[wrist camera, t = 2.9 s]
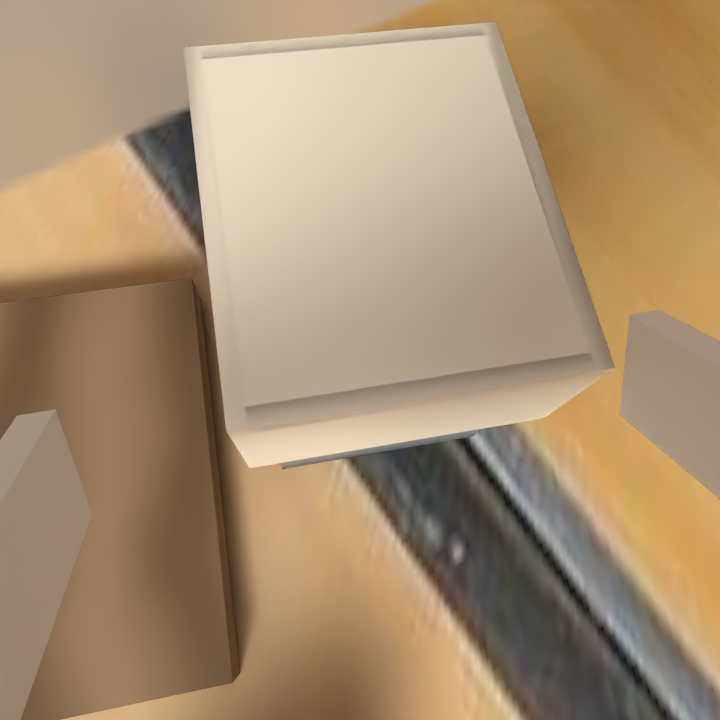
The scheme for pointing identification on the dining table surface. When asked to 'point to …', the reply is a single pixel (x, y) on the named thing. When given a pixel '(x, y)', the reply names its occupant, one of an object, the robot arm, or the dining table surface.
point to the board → (128, 493)
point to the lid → (382, 242)
